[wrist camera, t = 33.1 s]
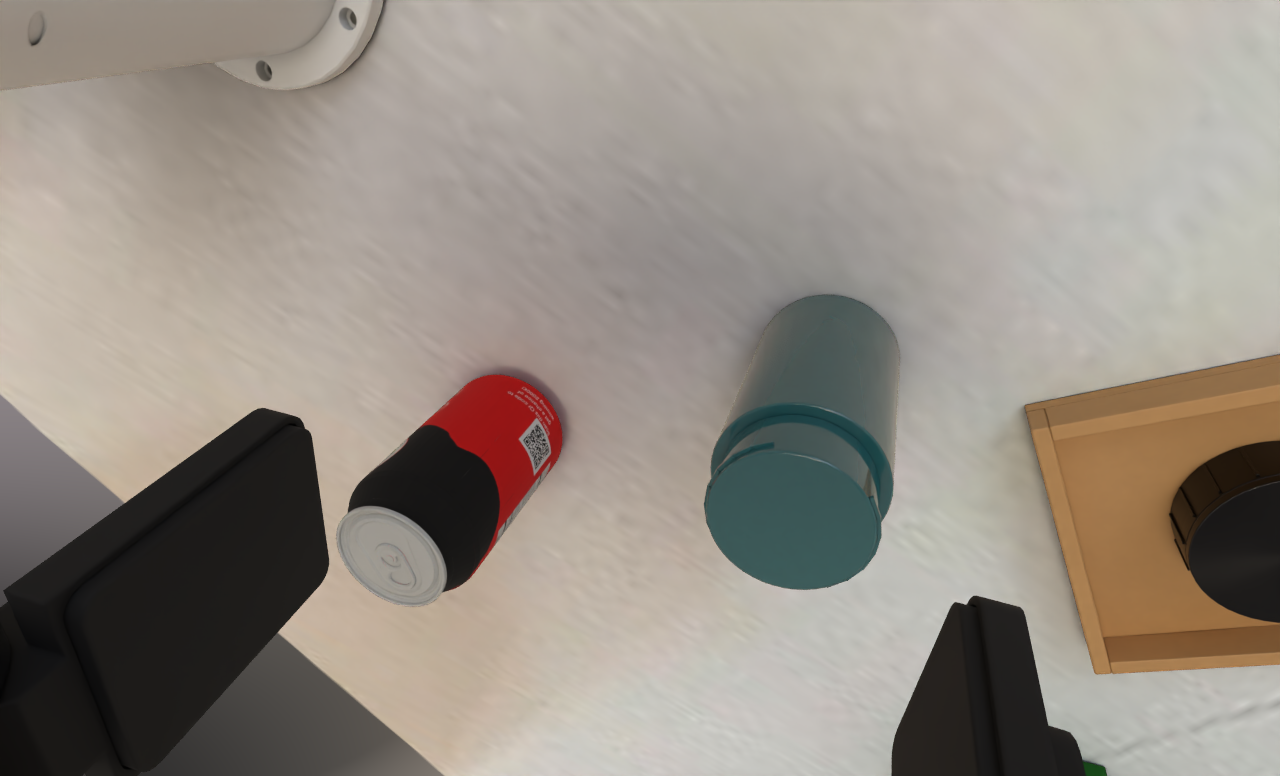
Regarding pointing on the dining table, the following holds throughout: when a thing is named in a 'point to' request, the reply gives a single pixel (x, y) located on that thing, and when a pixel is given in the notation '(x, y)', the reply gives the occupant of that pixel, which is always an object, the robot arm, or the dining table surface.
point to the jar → (809, 447)
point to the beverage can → (449, 491)
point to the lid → (1234, 529)
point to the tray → (1150, 512)
